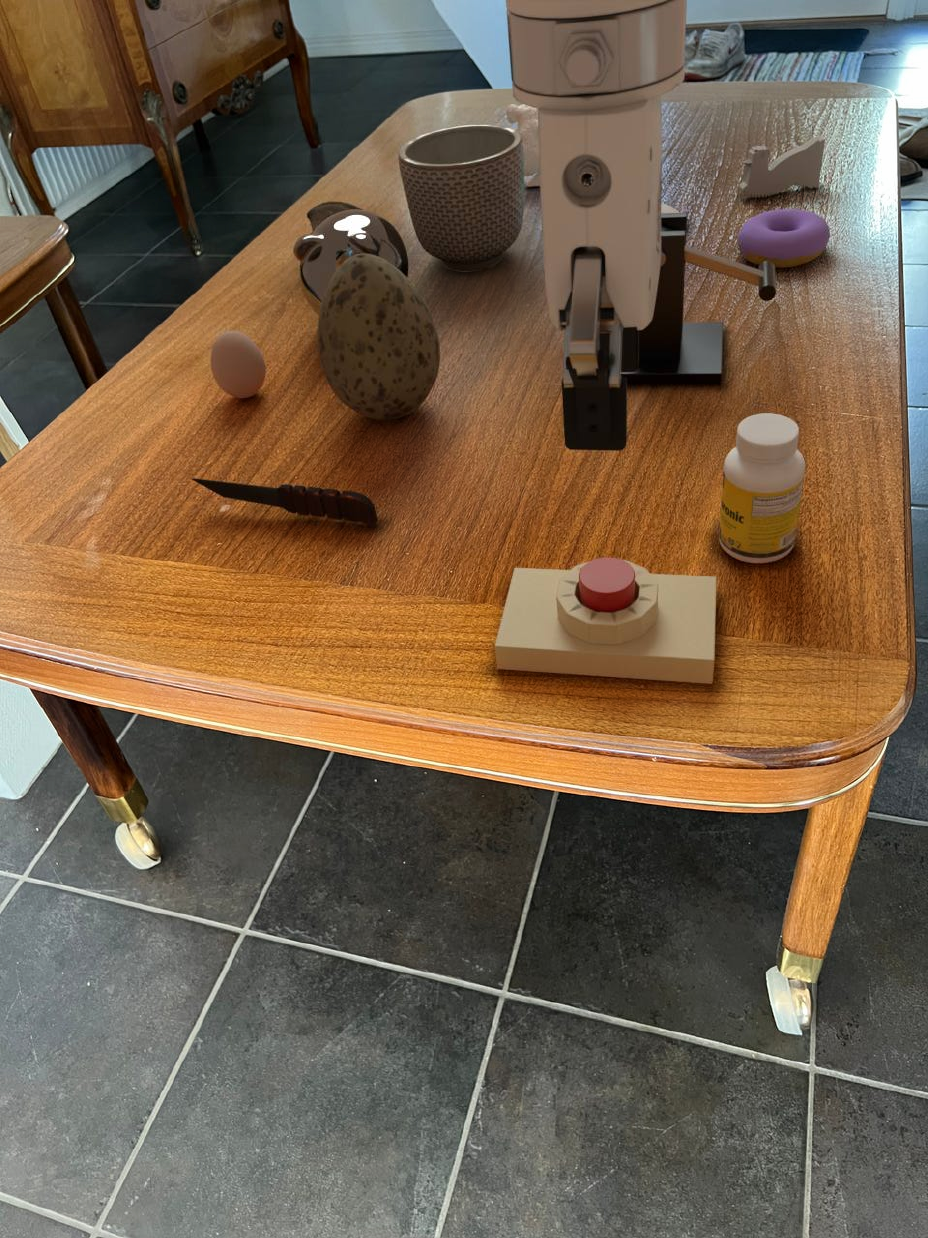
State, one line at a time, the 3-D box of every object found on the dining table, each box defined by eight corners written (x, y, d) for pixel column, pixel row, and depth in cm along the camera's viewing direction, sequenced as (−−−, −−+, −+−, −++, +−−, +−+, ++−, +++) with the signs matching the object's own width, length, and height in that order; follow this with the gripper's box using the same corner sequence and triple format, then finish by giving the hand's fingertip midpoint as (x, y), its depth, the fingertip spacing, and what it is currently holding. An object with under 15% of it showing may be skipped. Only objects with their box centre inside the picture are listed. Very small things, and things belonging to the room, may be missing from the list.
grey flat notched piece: (818, 188, 117) (739, 201, 117) (813, 184, 118) (734, 197, 118) (825, 138, 113) (743, 151, 113) (820, 135, 114) (739, 148, 114)
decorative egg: (322, 403, 93) (284, 251, 83) (425, 372, 95) (400, 220, 85) (354, 457, 85) (316, 296, 75) (465, 421, 87) (443, 260, 77)
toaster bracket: (722, 332, 94) (732, 199, 85) (721, 385, 87) (731, 245, 78) (599, 334, 96) (597, 205, 88) (588, 385, 89) (584, 250, 81)
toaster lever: (767, 282, 87) (780, 258, 85) (768, 308, 83) (781, 283, 82) (641, 241, 87) (651, 215, 85) (637, 264, 83) (647, 238, 81)
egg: (282, 392, 95) (264, 329, 91) (238, 414, 93) (218, 350, 88) (255, 377, 98) (236, 314, 94) (212, 397, 96) (191, 335, 92)
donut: (801, 277, 99) (797, 229, 97) (723, 277, 106) (718, 233, 103) (847, 241, 104) (845, 195, 101) (770, 244, 110) (766, 201, 108)
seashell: (317, 234, 124) (318, 178, 119) (386, 244, 124) (389, 188, 120) (291, 287, 112) (291, 227, 107) (367, 297, 112) (370, 238, 108)
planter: (536, 232, 117) (529, 118, 108) (524, 282, 107) (515, 161, 98) (426, 239, 120) (410, 128, 111) (404, 288, 110) (385, 170, 101)
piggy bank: (293, 357, 100) (265, 250, 93) (337, 293, 111) (315, 192, 103) (394, 357, 98) (373, 247, 90) (429, 292, 108) (414, 187, 100)
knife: (197, 506, 82) (186, 478, 80) (203, 500, 83) (192, 471, 81) (375, 529, 77) (368, 498, 75) (379, 521, 78) (372, 491, 76)
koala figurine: (578, 173, 130) (574, 75, 122) (571, 191, 126) (567, 91, 118) (517, 175, 132) (510, 80, 124) (508, 194, 128) (500, 95, 120)
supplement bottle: (711, 523, 72) (719, 411, 66) (783, 516, 72) (799, 402, 65) (726, 569, 68) (736, 454, 62) (802, 562, 68) (821, 446, 61)
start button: (637, 578, 64) (637, 557, 62) (632, 614, 61) (632, 594, 60) (583, 575, 64) (582, 555, 63) (576, 611, 62) (575, 591, 61)
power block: (714, 600, 66) (718, 555, 64) (712, 684, 61) (716, 639, 58) (516, 590, 70) (512, 547, 67) (497, 669, 64) (491, 626, 61)
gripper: (675, 103, 34) (663, 502, 46) (693, -7, 46) (679, 331, 58) (472, 117, 36) (511, 498, 48) (540, 7, 48) (558, 333, 60)
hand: (603, 404), depth 53 cm, fingers open, 7 cm apart
